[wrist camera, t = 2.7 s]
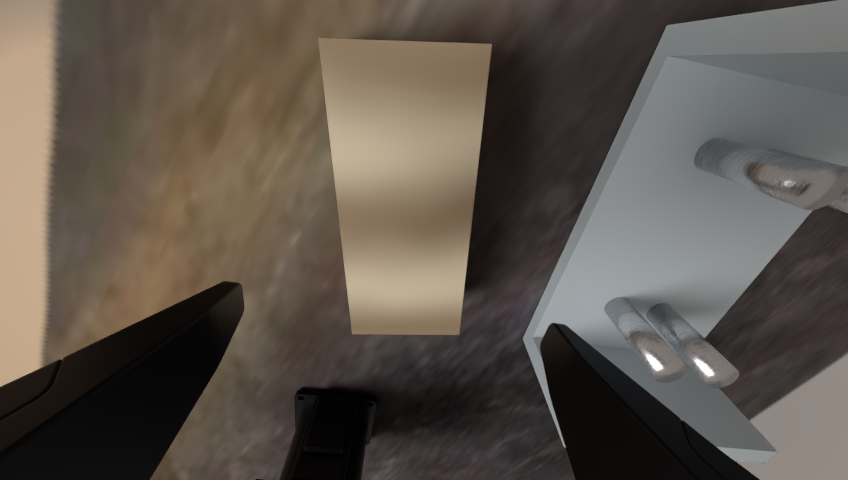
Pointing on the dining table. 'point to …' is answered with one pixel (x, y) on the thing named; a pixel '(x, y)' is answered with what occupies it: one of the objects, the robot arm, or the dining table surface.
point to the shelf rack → (704, 203)
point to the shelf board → (405, 176)
